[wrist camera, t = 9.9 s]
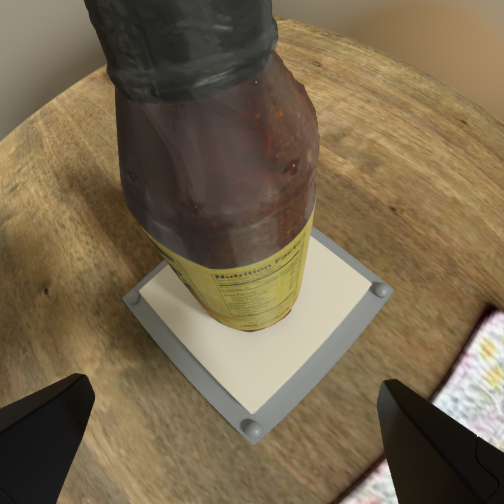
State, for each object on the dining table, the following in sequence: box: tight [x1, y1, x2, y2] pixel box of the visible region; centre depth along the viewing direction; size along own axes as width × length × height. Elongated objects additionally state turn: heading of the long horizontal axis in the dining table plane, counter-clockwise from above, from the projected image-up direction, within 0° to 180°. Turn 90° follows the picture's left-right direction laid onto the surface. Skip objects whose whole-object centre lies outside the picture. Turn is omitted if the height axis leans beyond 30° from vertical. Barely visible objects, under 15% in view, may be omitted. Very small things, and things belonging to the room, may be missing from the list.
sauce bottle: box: [84, 0, 320, 332], centre depth 11 cm, size 7×6×20 cm
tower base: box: [122, 226, 394, 445], centre depth 21 cm, size 14×14×3 cm
